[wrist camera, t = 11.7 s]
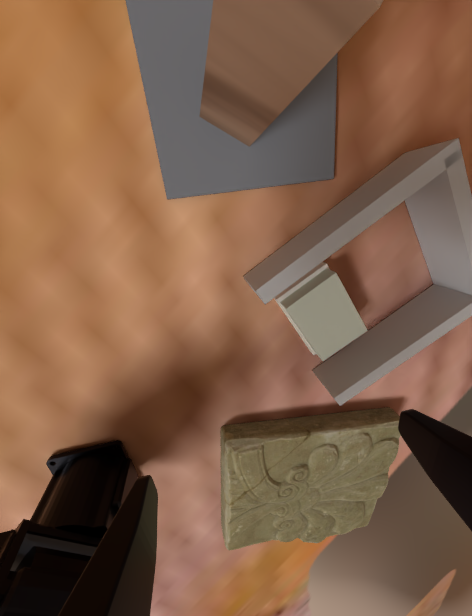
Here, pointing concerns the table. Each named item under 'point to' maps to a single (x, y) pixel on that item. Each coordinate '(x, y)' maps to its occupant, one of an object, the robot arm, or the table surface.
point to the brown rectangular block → (270, 56)
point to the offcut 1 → (293, 288)
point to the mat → (208, 138)
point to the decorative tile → (304, 475)
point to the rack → (435, 246)
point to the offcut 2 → (324, 314)
